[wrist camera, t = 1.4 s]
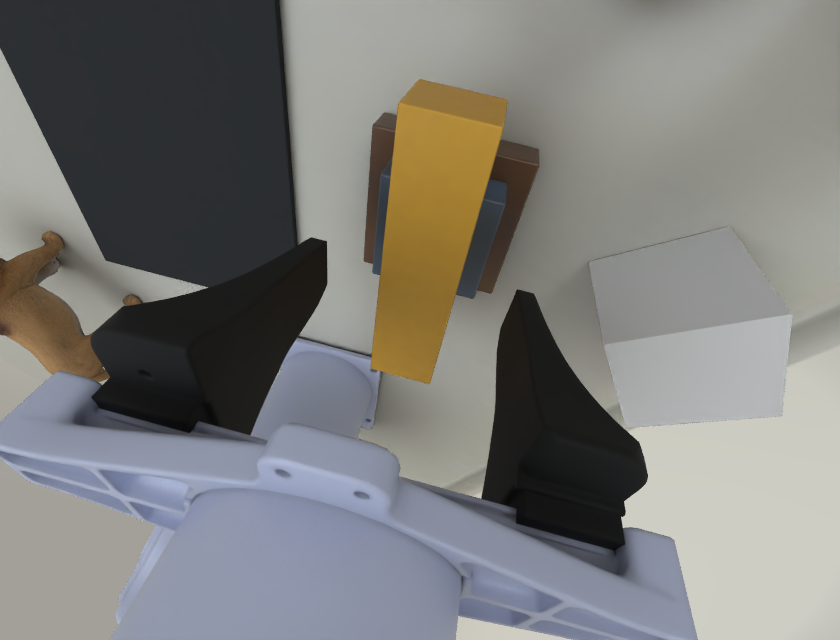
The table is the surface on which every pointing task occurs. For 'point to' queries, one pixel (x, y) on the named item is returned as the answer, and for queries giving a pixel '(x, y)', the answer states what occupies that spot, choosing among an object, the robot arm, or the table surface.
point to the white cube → (692, 332)
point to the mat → (164, 126)
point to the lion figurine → (46, 313)
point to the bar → (431, 219)
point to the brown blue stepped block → (495, 216)
